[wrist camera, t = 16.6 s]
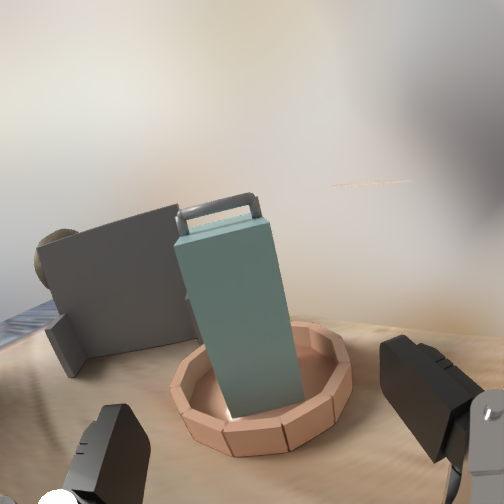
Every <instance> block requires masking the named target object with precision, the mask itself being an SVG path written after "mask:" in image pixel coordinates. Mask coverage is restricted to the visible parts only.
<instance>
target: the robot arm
mask: <svg viewBox="0 0 504 504" xmlns="http://www.w3.org/2000/svg"><path fill="white" fill-rule="evenodd" d="M380 385H381V389H382V391H383V394H384V396H385V397H386V399H387V400H388V401H389V403H390V404H391V405H392V407H393V408H394V409H395V411H396V412H397V413H398V415H399V416H400V417H401V419H402V420H403V422H404V423H405V424H406V426H407V427H408V428H409V430H410V431H411V432H412V434H413V435H414V436H415V438H416V439H417V441H418V442H419V443H420V445H421V446H422V447H423V449H424V450H425V452H426V453H427V454H428V456H429V457H430V458H431V460H432V461H433V463H434V464H435V463H436V462H438V461H440V460H442V459H443V458H445V457H447V459H448V460H449V461H450V464H449V468H448V475H447V481H446V486H445V491H444V496H443V501H442V504H504V391H503V390H498V389H493V390H487V391H484V390H483V389H482V388H481V387H480V386H478V385H477V384H476V383H475V382H474V381H473V380H472V379H470V378H469V377H468V376H467V375H466V374H465V373H464V372H462V371H461V370H460V369H459V368H458V367H457V366H454V365H453V363H452V362H451V361H450V360H448V359H446V358H445V356H444V355H442V354H441V353H440V352H439V351H438V350H437V349H435V348H433V347H430V346H428V345H425V344H422V343H420V344H418V345H416V344H415V343H413V342H412V341H411V340H410V339H409V338H408V337H407V336H405V335H400V336H397V337H395V338H392V339H390V340H387V341H384V342H382V343H381V344H380ZM150 452H151V447H150V442H149V439H148V436H147V434H146V433H145V431H144V430H143V428H142V426H141V425H140V423H139V421H138V420H137V418H136V417H135V415H134V413H133V411H132V410H131V408H130V407H129V405H127V404H125V403H124V404H113V405H105V406H103V407H102V409H101V412H100V414H99V416H98V419H97V421H93V422H92V423H91V425H90V426H89V427H88V428H87V429H86V430H85V431H84V433H83V436H82V438H81V440H80V445H78V448H77V450H76V455H74V458H73V460H72V463H71V465H70V468H69V470H68V473H67V476H66V478H65V481H64V484H63V486H62V489H61V490H55V491H51V492H49V493H47V494H46V495H44V496H43V497H42V499H41V500H40V502H39V503H38V504H142V502H143V496H144V489H145V483H146V476H147V470H148V464H149V458H150ZM0 504H17V503H16V502H15V501H14V500H13V499H12V498H11V497H9V496H5V495H1V496H0Z"/></svg>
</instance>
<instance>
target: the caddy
mask: <svg viewBox="0 0 504 504" xmlns="http://www.w3.org/2000/svg"><path fill="white" fill-rule="evenodd" d="M245 205H249V206H250V211H251V213H249V214H245V215H240V216H237V217H232V218H228V219H224V220H220V221H216V222H212V223H208V224H204V225H200V226H196V227H192V228H188V226H187V222H186V220H189V219H193V218H197V217H200V216H204V215H209V214H212V213H216V212H221V211H224V210H228V209H233V208H237V207H241V206H245ZM175 220H176V223H177V227H178V231H179V235H180V237H179V239H178V240H177V242H176V243H175V245H174V250H175V253H176V257H177V260H178V263H179V267H180V270H181V274H182V277H183V280H184V284H185V287H186V290H187V293H188V296H189V300H190V303H191V306H192V309H193V312H194V315H195V318H196V321H197V324H198V327H199V330H200V333H201V336H202V339H203V342H204V345H205V348H206V351H207V353H208V356H209V359H210V362H211V365H212V367H213V370H214V373H215V375H216V378H217V381H218V384H219V386H220V389H221V391H222V394H223V397H224V399H225V402H226V404H227V407H228V410H229V412H230V415H231V417H232V419H233V418H238V417H243V416H248V415H252V414H257V413H261V412H265V411H269V410H273V409H277V408H281V407H285V406H289V405H292V404H296V403H300V402H303V401H305V396H304V390H303V385H302V379H301V374H300V369H299V364H298V358H297V353H296V348H295V343H294V338H293V333H292V328H291V323H290V318H289V313H288V308H287V303H286V298H285V293H284V288H283V283H282V278H281V274H280V269H279V264H278V259H277V255H276V250H275V245H274V241H273V237H272V231H271V227H270V223H269V222H268V221H267V220H266V219H265V218H264V217H262V214H261V209H260V205H259V200H258V197H255V195H254V194H253V193H244V194H240V195H236V196H232V197H228V198H224V199H219V200H215V201H211V202H207V203H204V204H199V205H196V206H192V207H188V208H184V209H181V210H179V211H178V213H177V216H176V217H175Z"/></svg>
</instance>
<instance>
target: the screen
mask: <svg viewBox="0 0 504 504" xmlns="http://www.w3.org/2000/svg"><path fill="white" fill-rule="evenodd" d="M179 210H180V209H179V205H178V204H174V205H170V206H166V207H163V208H160V209H156V210H152V211H149V212H145V213H142V214H138V215H135V216H132V217H128V218H125V219H121V220H118V221H115V222H112V223H108V224H105V225H102V226H99V227H96V228H93V229H90V230H86V231H84V232H80V233H77V234H74V235H71V236H68V237H65V238H62V239H60V240H57V241H54V242H51V243H48V244H45V245H42V246H40V247H38V248H36V249H37V253H38V256H39V259H40V262H41V265H42V268H43V271H44V274H45V277H46V280H47V283H48V286H49V288H50V291H51V294H52V296H53V299H54V302H55V304H56V307H57V309H58V312H59V314H60V315H59V316H58V317H57V318H56V319H55V320H54V321H53V322H52V323H51V324H50V325H49V326H48V327H47V328H46V329H45V332H46V335H47V337H48V339H49V341H50V343H51V345H52V347H53V349H54V351H55V353H56V355H57V357H58V359H59V361H60V363H61V365H62V367H63V369H64V371H65V373H66V374H67V376H68V378H69V377H75V376H76V374H77V373H78V371H79V370H80V368H81V367H82V365H83V363H84V362H85V360H86V359H87V358H93V357H99V356H106V355H112V354H118V353H124V352H130V351H135V350H141V349H146V348H151V347H157V346H162V345H167V344H172V343H177V342H182V341H186V340H191V339H196V338H198V341H199V344H200V346H201V345H203V344H204V342H203V339H202V336H201V333H200V330H199V327H198V324H197V321H196V318H195V315H194V312H193V309H192V306H191V303H190V300H189V296H188V293H187V290H186V287H185V284H184V280H183V277H182V274H181V270H180V267H179V263H178V260H177V257H176V253H175V250H174V245H175V243H176V242H177V240H178V239H179V237H180V235H179V231H178V227H177V223H176V220H175V217H176V216H177V213H178V211H179Z"/></svg>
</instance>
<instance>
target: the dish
mask: <svg viewBox="0 0 504 504" xmlns="http://www.w3.org/2000/svg"><path fill="white" fill-rule="evenodd" d="M290 323H291V328H292V333H293V338H294V343H295V348H296V353H297V358H298V364H299V369H300V374H301V379H302V385H303V390H304V396H305V401H303V402H300V403H296V404H292V405H289V406H285V407H281V408H277V409H273V410H269V411H265V412H261V413H257V414H252V415H248V416H243V417H238V418H233V419H232V417H231V415H230V412H229V410H228V407H227V404H226V402H225V399H224V397H223V394H222V391H221V389H220V386H219V384H218V381H217V378H216V375H215V373H214V370H213V367H212V365H211V362H210V359H209V356H208V353H207V351H206V348H205V345H204V344H203V345H201V346H200V347H199V348H197V349H196V350H195V351H194V352H192V353H191V354H190V355H189V356H187V357H186V358H185V359H184V360H182V361H181V362H180V364H179V367H178V369H177V371H176V373H175V375H174V378H173V380H172V382H171V384H170V388H169V389H170V391H171V394H172V396H173V399H174V401H175V403H176V405H177V408H178V410H179V412H180V414H181V416H182V418H183V420H184V422H185V424H186V426H187V428H188V430H189V432H190V433H191V435H192V437H193V439H194V440H196V441H198V442H200V443H202V444H205V445H207V446H209V447H211V448H213V449H216V450H218V451H220V452H223V453H225V454H227V455H230V456H233V455H234V456H235V457H242V456H256V455H267V454H276V453H285V452H288V449H289V450H290V451H292V450H294V449H296V448H297V447H299V446H301V445H302V444H304V443H306V442H307V441H309V440H311V439H312V438H314V437H316V436H317V435H319V434H321V433H322V432H324V431H325V430H327V429H328V428H330V427H332V426H333V425H334V423H336V422H337V420H338V418H339V416H340V414H341V412H342V410H343V409H344V407H345V405H346V403H347V401H348V399H349V397H350V395H351V392H352V389H353V386H352V370H351V360H350V358H349V355H348V352H347V350H346V347H345V344H344V342H343V339H342V337H341V336H340V335H338V334H336V333H334V332H332V331H330V330H328V329H326V328H324V327H322V326H320V325H318V324H316V323H313V322H299V321H290Z"/></svg>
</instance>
